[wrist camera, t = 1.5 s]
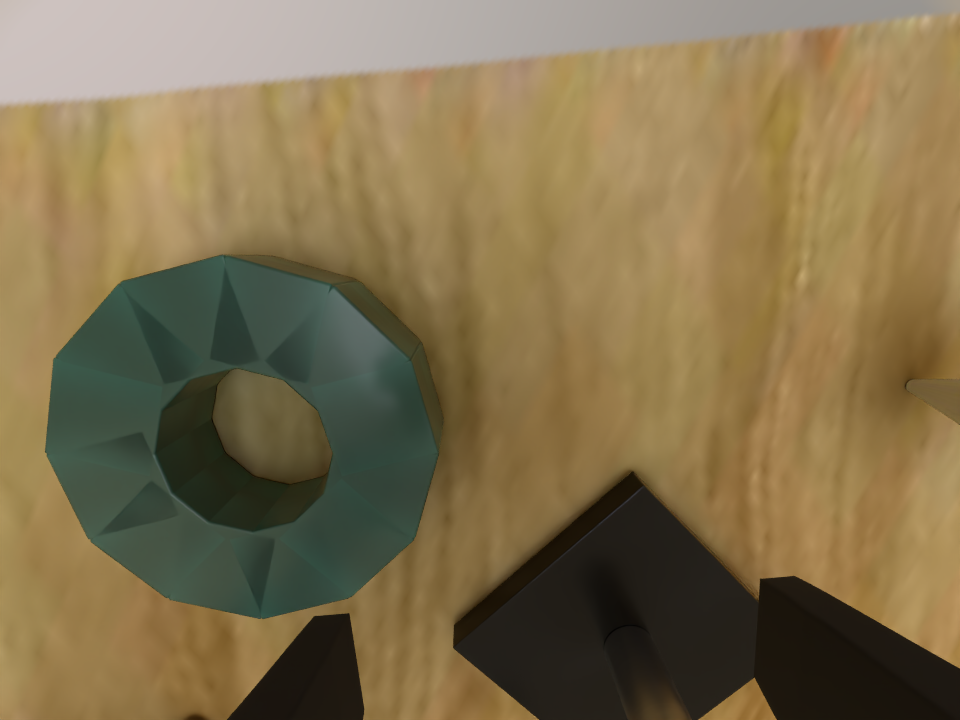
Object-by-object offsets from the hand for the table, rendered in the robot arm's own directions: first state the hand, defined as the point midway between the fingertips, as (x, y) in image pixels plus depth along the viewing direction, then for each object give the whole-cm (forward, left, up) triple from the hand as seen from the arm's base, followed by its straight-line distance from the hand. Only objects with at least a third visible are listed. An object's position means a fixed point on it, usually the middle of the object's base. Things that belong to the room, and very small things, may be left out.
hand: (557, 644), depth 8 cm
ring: (-5, +6, -10) cm, 13 cm away
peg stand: (-2, -10, -10) cm, 14 cm away
